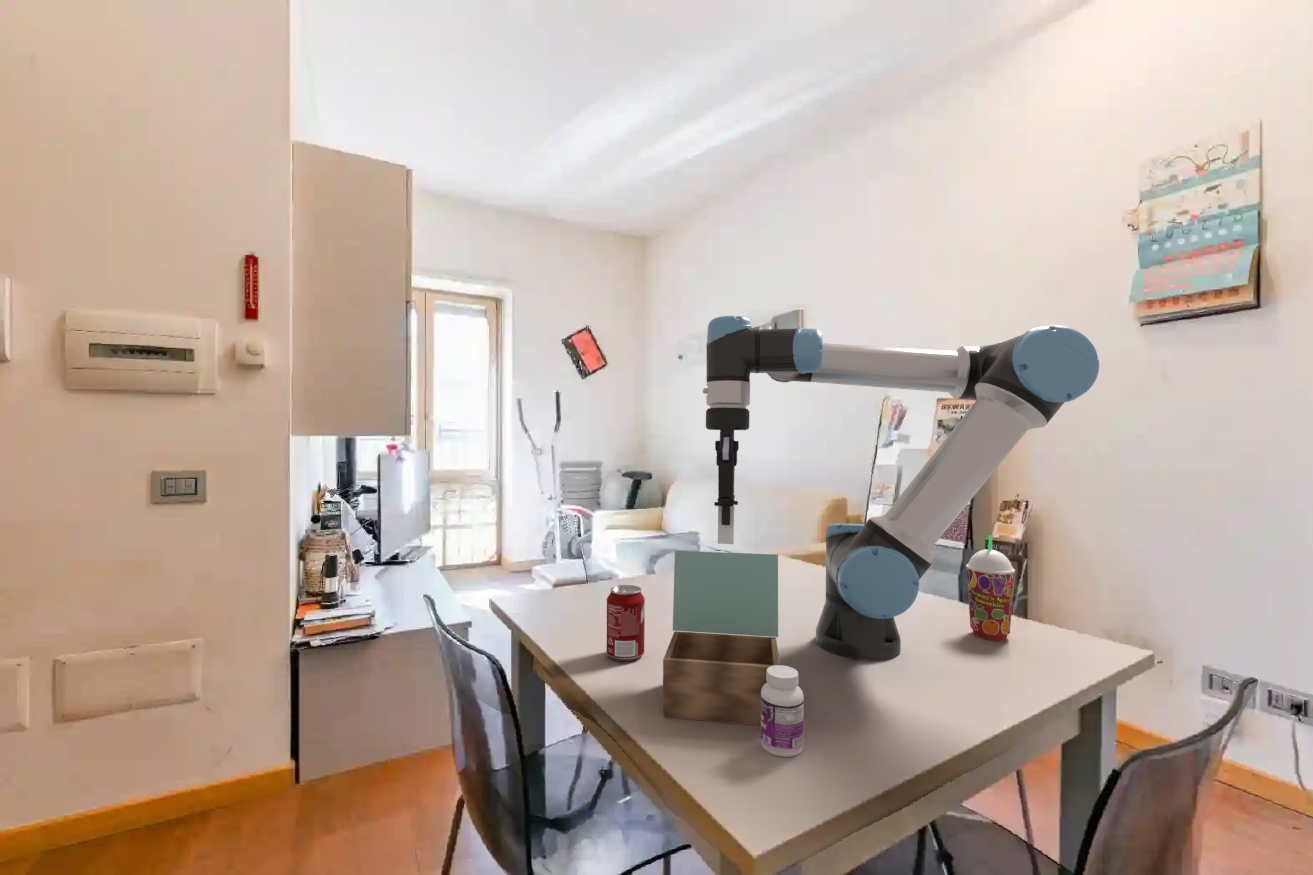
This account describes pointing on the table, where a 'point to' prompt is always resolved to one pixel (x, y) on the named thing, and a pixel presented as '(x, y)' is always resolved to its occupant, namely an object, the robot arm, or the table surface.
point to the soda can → (625, 623)
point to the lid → (726, 593)
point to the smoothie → (990, 593)
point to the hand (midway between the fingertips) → (725, 542)
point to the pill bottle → (782, 712)
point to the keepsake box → (716, 676)
